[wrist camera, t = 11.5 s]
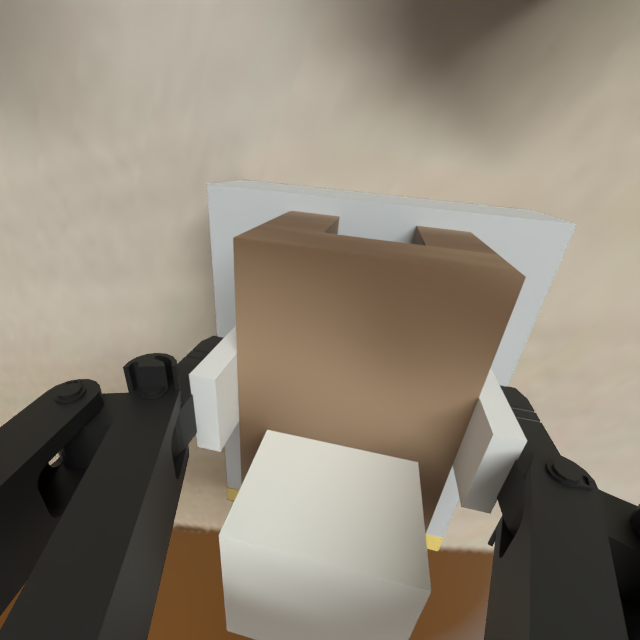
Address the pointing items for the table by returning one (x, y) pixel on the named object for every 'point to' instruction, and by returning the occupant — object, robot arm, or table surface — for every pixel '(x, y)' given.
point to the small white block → (325, 544)
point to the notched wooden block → (367, 338)
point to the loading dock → (398, 226)
